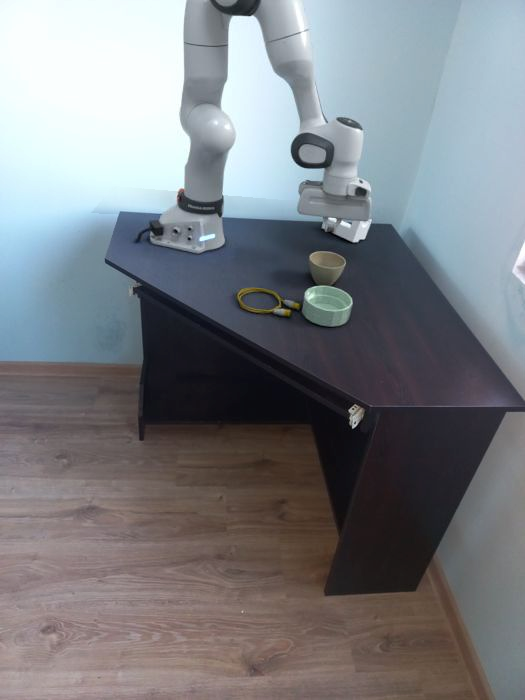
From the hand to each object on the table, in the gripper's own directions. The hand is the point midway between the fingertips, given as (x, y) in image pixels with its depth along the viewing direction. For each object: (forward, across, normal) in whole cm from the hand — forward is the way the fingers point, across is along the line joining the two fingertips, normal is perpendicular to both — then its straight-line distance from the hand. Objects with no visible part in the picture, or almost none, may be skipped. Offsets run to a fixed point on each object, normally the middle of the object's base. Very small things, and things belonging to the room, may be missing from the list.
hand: (329, 231), depth 151 cm
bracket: (+11, +8, +25) cm, 28 cm away
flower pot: (+11, 0, -10) cm, 15 cm away
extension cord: (+11, -16, -26) cm, 32 cm away
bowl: (+11, 0, -27) cm, 29 cm away
